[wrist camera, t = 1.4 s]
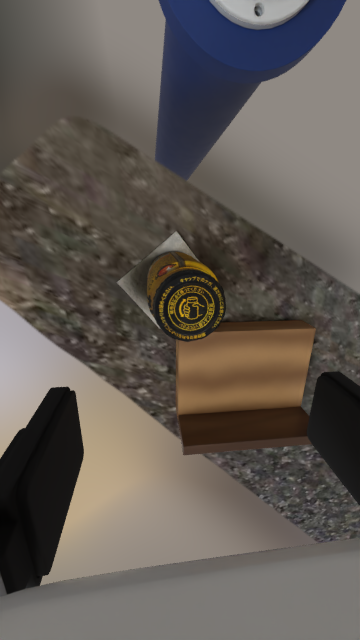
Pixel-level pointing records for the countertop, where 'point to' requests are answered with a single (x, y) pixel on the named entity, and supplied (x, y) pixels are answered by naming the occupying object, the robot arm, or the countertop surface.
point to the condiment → (177, 291)
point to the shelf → (243, 387)
